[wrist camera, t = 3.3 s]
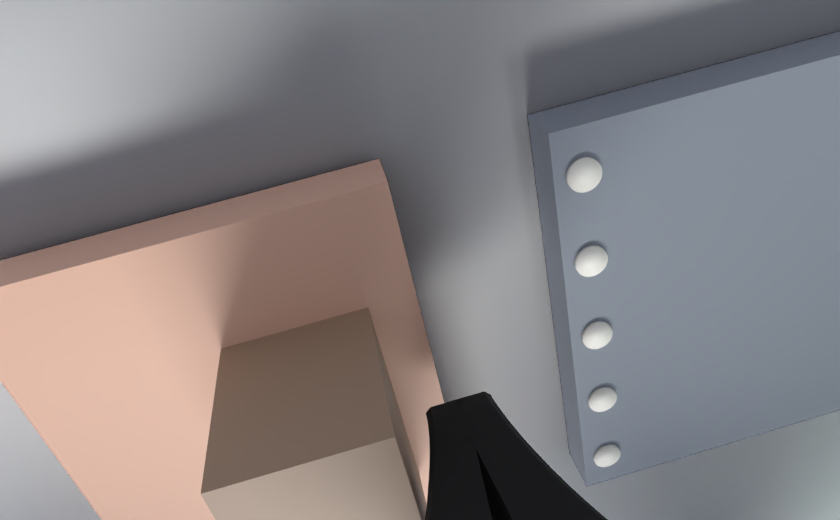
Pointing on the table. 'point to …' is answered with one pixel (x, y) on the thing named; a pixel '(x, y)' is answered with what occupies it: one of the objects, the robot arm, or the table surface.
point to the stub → (232, 358)
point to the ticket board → (694, 256)
